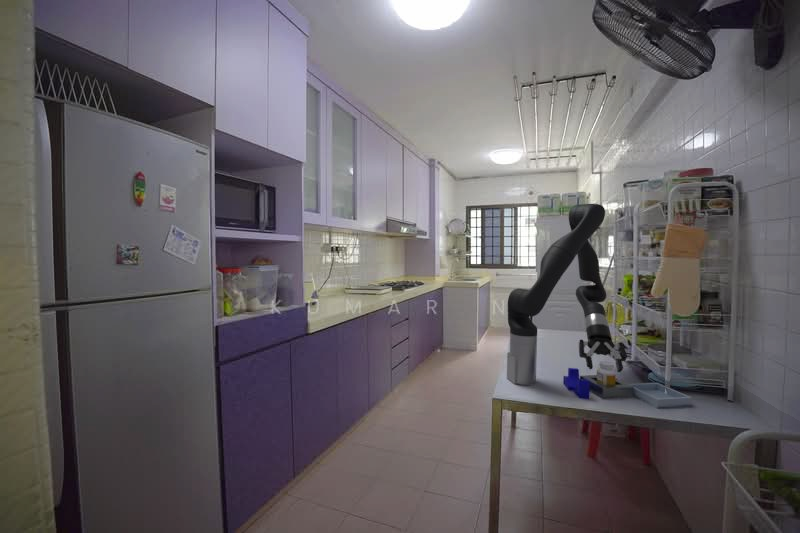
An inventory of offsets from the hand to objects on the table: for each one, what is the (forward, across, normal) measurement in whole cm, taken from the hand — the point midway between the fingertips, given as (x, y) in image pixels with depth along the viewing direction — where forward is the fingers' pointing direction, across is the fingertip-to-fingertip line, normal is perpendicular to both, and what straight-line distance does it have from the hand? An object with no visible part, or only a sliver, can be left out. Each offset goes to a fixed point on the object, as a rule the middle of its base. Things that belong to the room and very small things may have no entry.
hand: (605, 369), depth 114 cm
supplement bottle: (+6, 0, +4) cm, 7 cm away
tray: (+6, +14, +4) cm, 16 cm away
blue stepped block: (+8, -10, +2) cm, 13 cm away
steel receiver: (+6, 0, +4) cm, 7 cm away
